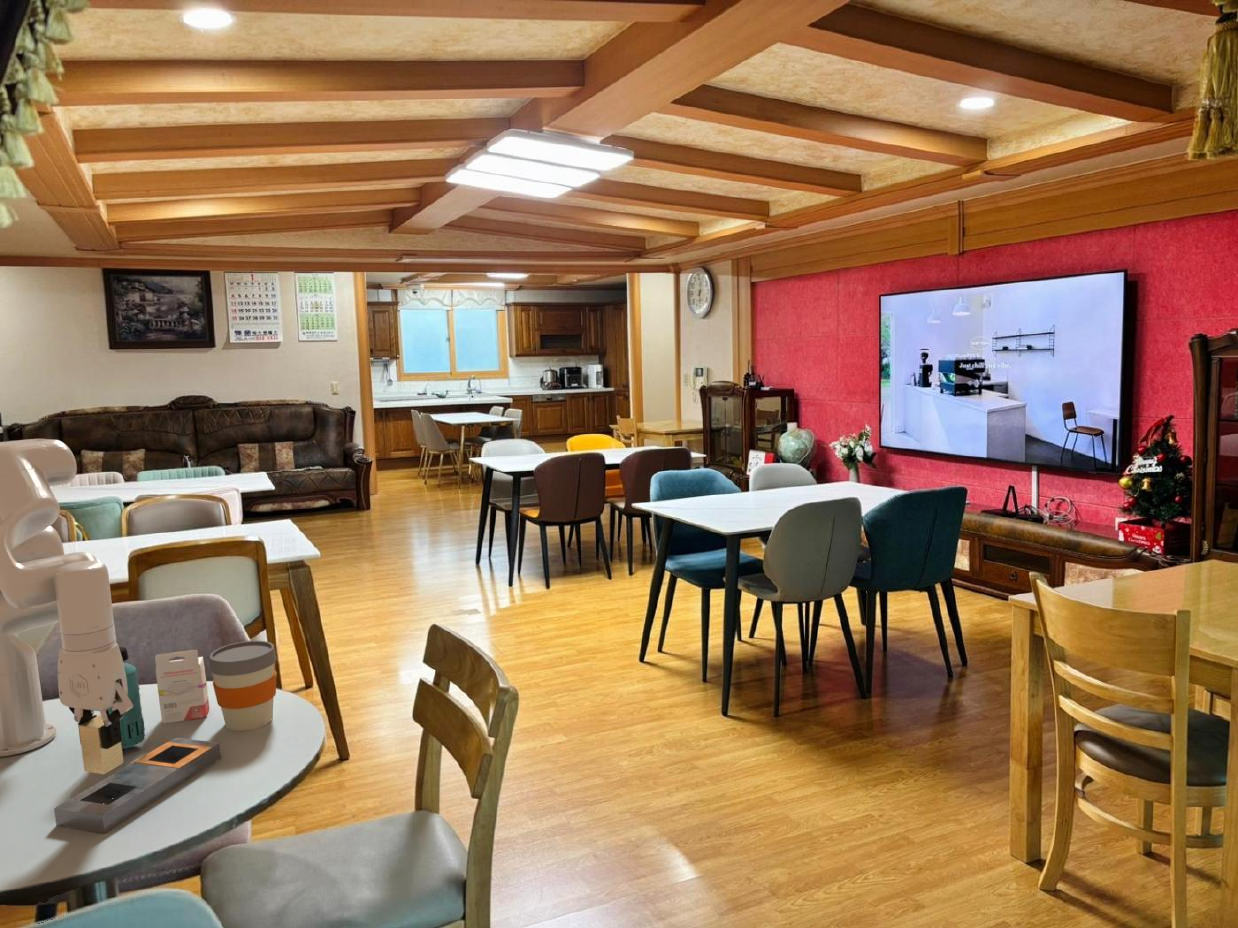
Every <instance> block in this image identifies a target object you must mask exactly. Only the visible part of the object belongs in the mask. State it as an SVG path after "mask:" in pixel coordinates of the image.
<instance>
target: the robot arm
mask: <svg viewBox="0 0 1238 928" xmlns="http://www.w3.org/2000/svg"><path fill="white" fill-rule="evenodd" d="M77 467H78V466H77V461H76V458H75V456H74V454H73V452H72V450H71V449H70V447H69V446H68V445H67V444H66V443H64V442H63V441H61V440H59V439H51V438H49V439H47V438H33V439H32V438H30V439H28V438H27V439H20V440H19V439H18V440H9V441H8V440H7V441H0V758H1V757H10V756H14V755H19V754H23V753H26V752H29V751H32V750H34V749H37V748H39V747H42V746H44V745H45V744H48V743H50V742H51V741H52V740H53V739H54V738H55V737H56V735H57V729H56V726H54V725H52V724H50V723H46V717H45V711H44V710H45V709H44V702H43V695H42V689H41V688H42V687H41V682H40V681H41V680H40V674H39V668H38V667H39V666H38V660H37V653H36V652H35V649H34V648H33V646H32V645H30V644H29V643H28V642H26V641H25V640H23V639H21V638H20V637H19V636H18V635H19V634H20V633H23V632H27V631H29V630H34V629H38V628H42V627H46V626H49V625H53V624H57V623H59V624H58V625H59V631H60V632H59V633H60V638H61V646H60V648H59V649H58V658H57V681H58V683H57V684H58V685H57V687H58V695H59V701H60V704H61V705H63V706H64V707H68V709H69V711H70V712H71V713H72V714H73V719H74V721H75V722H76V723H77V726H78V729H79V725H81V724H83V723H85V722H87V721H89V720H91V719H93V718H95V717H97V716H98V715H97V714H94V713H95V712H99V713H100V715H101V717H102V720H103V724H104V725H103V726H101V732H102V741H103V748H104V749H109V748H111V747H112V746H114V745H116V744H118V743H120V742H121V741H122V736H121V728H120V720H121V719H122V718H123V715H124V714H125V713H126V712H127V711H128V710H130V709H131V708H133V704H132V702H131V701H130V699H129V697H128V687H127V679H126V673H125V668H124V663H125V662H124V661H123V659H122V656H121V652H120V649H119V647H120V646H119V644H118V643H117V637H116V636H117V635H116V627H115V621H114V613H113V612H114V611H113V603H112V602H113V601H112V595H111V586H110V585H111V584H110V576H109V571H108V567H107V566H106V564H105V563H103V562H101V561H100V560H99V559H98V558H96V556H95V555H94V554H93V553H90V552H87V551H77V552H71V553H65V549H64V545H63V542H62V539H61V537H60V535H59V533H58V531H57V530H56V529H55V528H54V527H53V526H52V525H53V523H55V522H56V520H57V519H58V517H59V516H60V512H61V509H60V508H61V507H60V504H59V501H58V500H57V499H56V497H55V494H54V492H53V491H52V489H51V487H55V486H56V487H57V486H64V485H68V484H70V483H72V482H73V481H74V479H75V478H76V475H77V470H78V468H77ZM111 708H112V710H113V712H112V713H111V714H109V711H108V710H109V709H111ZM78 735H79V737H80V732H79V731H78ZM79 742H80V745H81V740H80V739H79Z"/></svg>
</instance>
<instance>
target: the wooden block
mask: <svg viewBox="0 0 1238 928" xmlns="http://www.w3.org/2000/svg"><path fill="white" fill-rule="evenodd" d="M103 725H104V724H103V720H102V717H101V714H100V715H97V717H95V718H93V719H91V720H89V721H87V722H85V723H83V724H81V725H79V728H78V733H79V732H80V736H79V741H80V740H81V744H80V746H81V754H82V762H83V770H84V772H85V773H86V772H88V773H92V774H93V773H94V774H100V775H106V773H108V772H110V771H112V770H114V769H115V768H117V767H119V766H120V765H122V764H124V756H123V748H122V746H121V742H120V743H118V744H116V745H114V746H112V747H111V748H109V749H104V748H103V741H102V732H101V726H103Z"/></svg>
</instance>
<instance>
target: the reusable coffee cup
mask: <svg viewBox="0 0 1238 928" xmlns="http://www.w3.org/2000/svg"><path fill="white" fill-rule="evenodd" d="M276 661H277V653H276V650H275V645H274V644H273V643H272V642H270V641H266V640H248V641H247V640H246V641H239V642H234V643H230V644H227V645H224V646H221V647H219V648H217V649H215V650H213V651H212V652H211V653H210V655H209V673H211V675H212V678H213V682H212V686H213V691H214V696H215V699H216V703H217V705H218V706H219V707H220V709H221V712H222V716H223V717H222V718H223V721H224V724H225V728H226V729H228V730H229V731H233V732H234V731H236V732H240V731H242V732H243V731H250V730H254V729H258V728H261V727H263V726H266V725H268V724H269V723H270V722H271V721H272V720H273V718H274V714H273V713H274V699H275V696H276V694H277V678H278V677H277V675H278V673H277V671H276ZM271 719H272V720H271ZM269 721H270V722H269ZM268 722H269V723H268ZM260 726H261V727H260Z"/></svg>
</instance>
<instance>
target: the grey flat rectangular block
mask: <svg viewBox="0 0 1238 928" xmlns="http://www.w3.org/2000/svg"><path fill="white" fill-rule="evenodd" d="M221 759H222V753H221V743H220V742H216V741H215V742H213V741H208V740H207V741H206V740H198V739H190V738H181V737H175V738H173V739H171V740H169V741H167V742H165V743H164V744H161V745H160V746H158V747H156V748H154V750H152V751H150V752H148V753H146V754H145V755H143V756H140V757H139V758H138V759H136V760H134V761H133V762H132V763H129V764H128V765H127V766H125V767H122V768H121V769H119V770H117V771H116V772H114V773H113V774H111V775H109V776H107V777H106V778H104V779H102V780H101V781H99V782H97V783H95V784H94V785H92V786H90V787H88V788H87V789H85V790H83V791H81V792H80V793H78V794H77V795H75V796H73V797H71V798H69V799H68V800H66V801H64V802H63V803H61V804H59V805H58V806H56V807H54V809H53V811H54V817H55V824H56V825H55V826H57V827H63V828H68V829H74V830H81V831H85V832H86V831H87V832H92V833H93V832H94V833H99V834H103V835H104V834H107V833H108V832H110V831H111V830H113V829H114V828H116V827H117V826H119V825H120V824H122V823H123V822H125V821H127V820H128V819H129V818H131V817H134V816H135V815H136V814H138V813H140V812H141V811H142V810H143V809H145V808H147V807H148V806H149V805H152V804H153V803H155V802H156V801H158V800H159V799H160V798H162V797H164V796H166V795H167V794H168V793H170V792H172V791H173V790H175V789H176V788H177V787H179V786H180V785H182V784H184V783H185V782H187V781H188V780H190V779H192V777H195V776H196V775H198V774H199V773H201V772H203V771H204V770H205V769H207V768H209V767H210V766H211V765H214V764H215V763H216V762H218V761H219V760H221ZM174 762H175V763H174ZM163 795H164V796H163ZM112 798H113V799H112ZM110 799H111V800H113V802H111V803H109V804H106V803H108V802H109V800H110ZM115 799H117V800H115ZM111 800H110V801H111ZM107 801H108V802H107ZM103 803H105V804H103Z"/></svg>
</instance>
